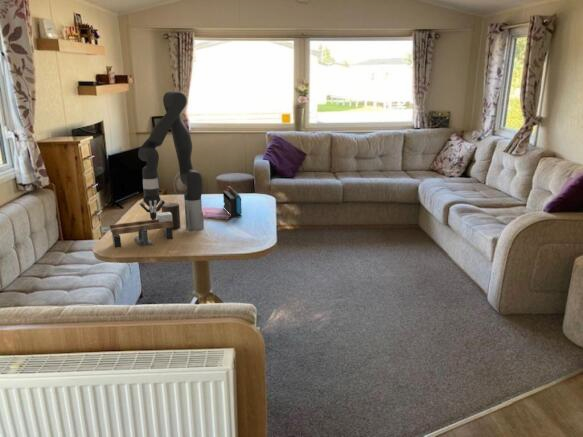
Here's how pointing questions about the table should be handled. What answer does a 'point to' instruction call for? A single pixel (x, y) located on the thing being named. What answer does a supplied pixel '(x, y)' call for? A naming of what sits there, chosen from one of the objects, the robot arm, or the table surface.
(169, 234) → the pivot stand
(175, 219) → the pillar candle
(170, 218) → the steel weight
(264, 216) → the table surface
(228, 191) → the game console
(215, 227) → the table surface
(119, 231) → the walnut beam
